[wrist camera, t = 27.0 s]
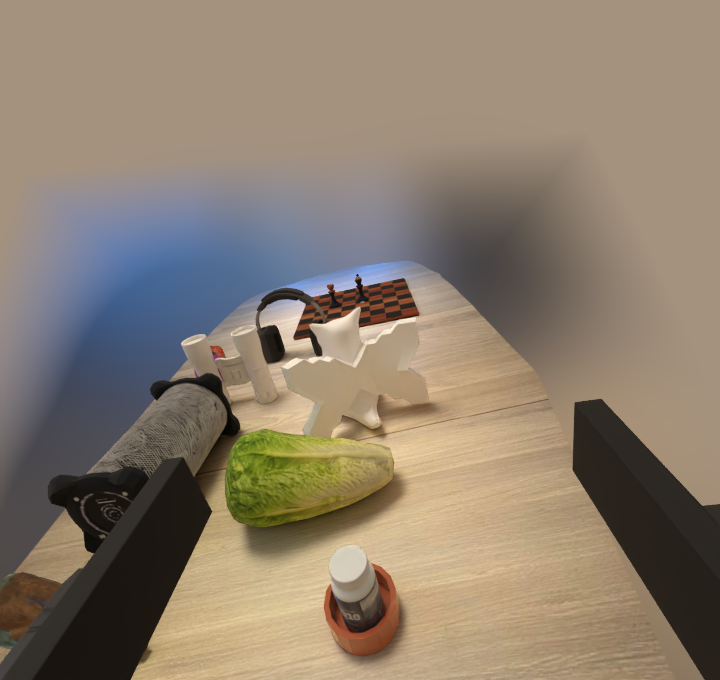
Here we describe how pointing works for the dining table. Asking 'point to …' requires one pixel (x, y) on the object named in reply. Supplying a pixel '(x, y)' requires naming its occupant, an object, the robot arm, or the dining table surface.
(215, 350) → the pomegranate
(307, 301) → the headphones
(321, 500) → the lettuce
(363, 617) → the pill bottle
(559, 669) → the dining table surface
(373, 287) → the chessboard
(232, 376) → the binoculars
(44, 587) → the bird figurine
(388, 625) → the orange cup holder
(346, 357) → the white abstract sculpture
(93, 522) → the speaker
